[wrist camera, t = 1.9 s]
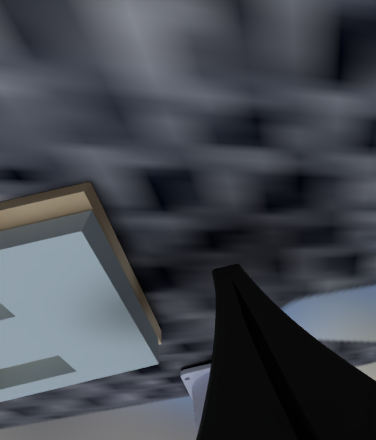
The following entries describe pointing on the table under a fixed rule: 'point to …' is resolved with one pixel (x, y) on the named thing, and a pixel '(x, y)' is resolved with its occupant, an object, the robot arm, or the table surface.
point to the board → (67, 205)
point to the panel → (66, 308)
